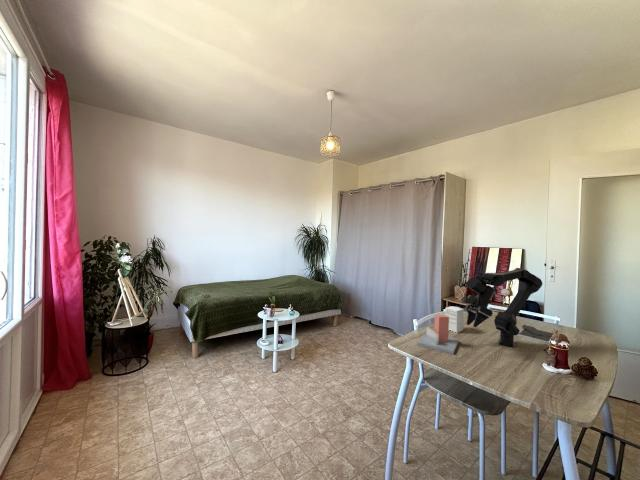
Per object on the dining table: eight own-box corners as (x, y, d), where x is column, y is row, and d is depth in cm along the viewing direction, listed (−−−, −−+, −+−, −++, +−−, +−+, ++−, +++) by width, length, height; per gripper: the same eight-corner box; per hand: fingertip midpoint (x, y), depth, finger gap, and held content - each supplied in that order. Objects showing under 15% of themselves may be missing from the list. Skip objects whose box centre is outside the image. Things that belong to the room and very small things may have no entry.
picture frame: (523, 329, 160) (513, 337, 147) (523, 324, 160) (514, 332, 147) (558, 337, 148) (551, 347, 135) (558, 332, 148) (551, 341, 135)
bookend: (426, 336, 139) (426, 327, 139) (428, 336, 139) (429, 327, 139) (435, 344, 129) (436, 334, 129) (438, 344, 129) (438, 334, 129)
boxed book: (443, 338, 136) (444, 314, 136) (447, 342, 132) (449, 317, 132) (434, 338, 136) (435, 314, 136) (438, 342, 132) (439, 317, 132)
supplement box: (451, 326, 159) (452, 305, 159) (463, 330, 153) (464, 308, 153) (444, 328, 155) (444, 307, 155) (456, 333, 149) (457, 310, 149)
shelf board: (426, 334, 146) (426, 331, 146) (458, 341, 137) (459, 339, 137) (417, 345, 131) (417, 342, 131) (453, 354, 122) (453, 351, 122)
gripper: (461, 289, 143) (449, 315, 141) (474, 288, 125) (460, 318, 123) (483, 299, 140) (470, 326, 138) (499, 300, 122) (485, 331, 120)
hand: (470, 325), depth 130 cm, fingers open, 9 cm apart
